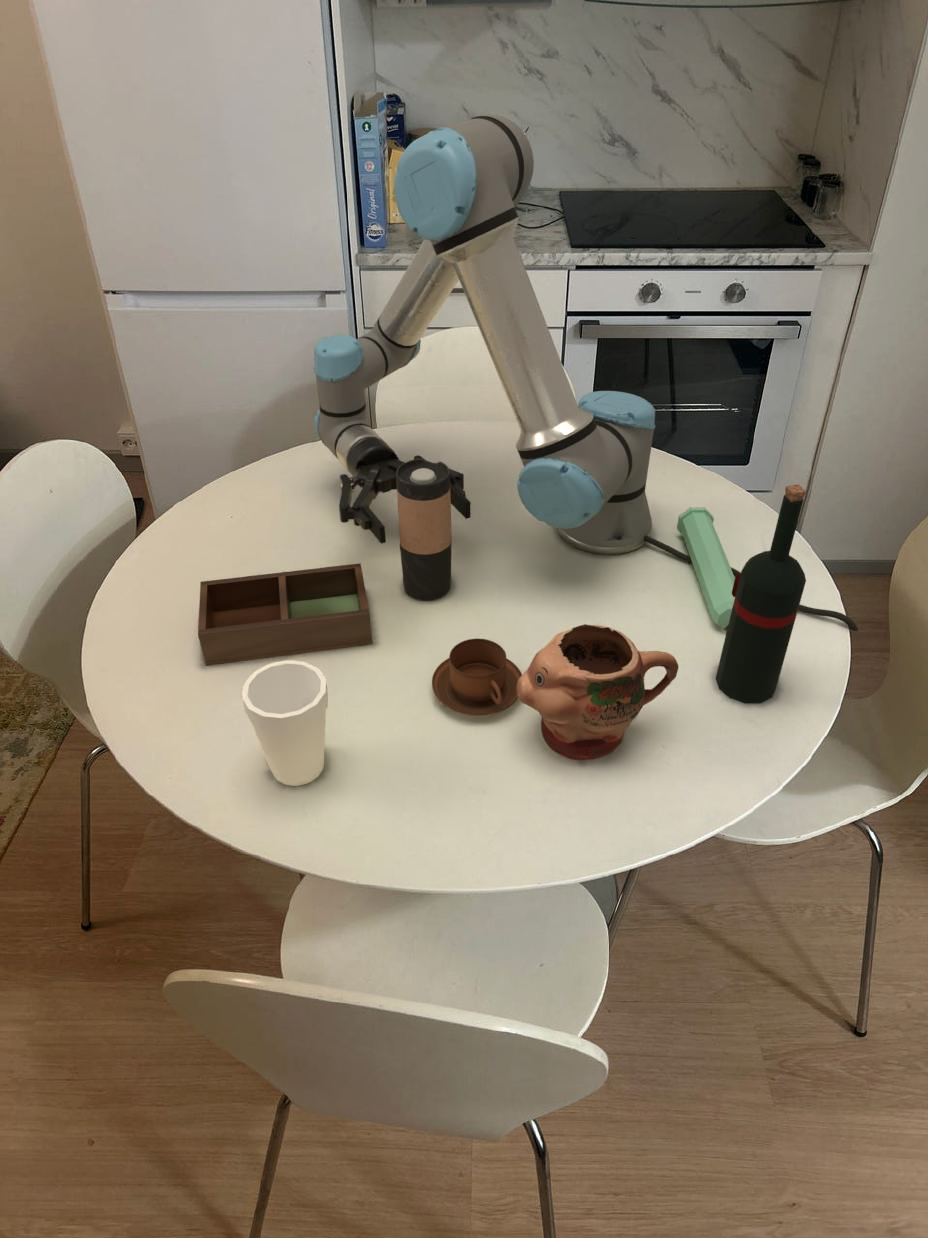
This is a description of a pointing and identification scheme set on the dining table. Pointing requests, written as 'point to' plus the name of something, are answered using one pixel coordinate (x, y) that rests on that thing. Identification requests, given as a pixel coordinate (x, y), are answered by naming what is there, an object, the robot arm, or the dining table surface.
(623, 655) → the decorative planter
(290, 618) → the divided box
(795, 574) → the wine bottle
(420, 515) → the travel mug
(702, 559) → the container
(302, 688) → the foam cup
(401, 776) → the dining table surface
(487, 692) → the cup and saucer
